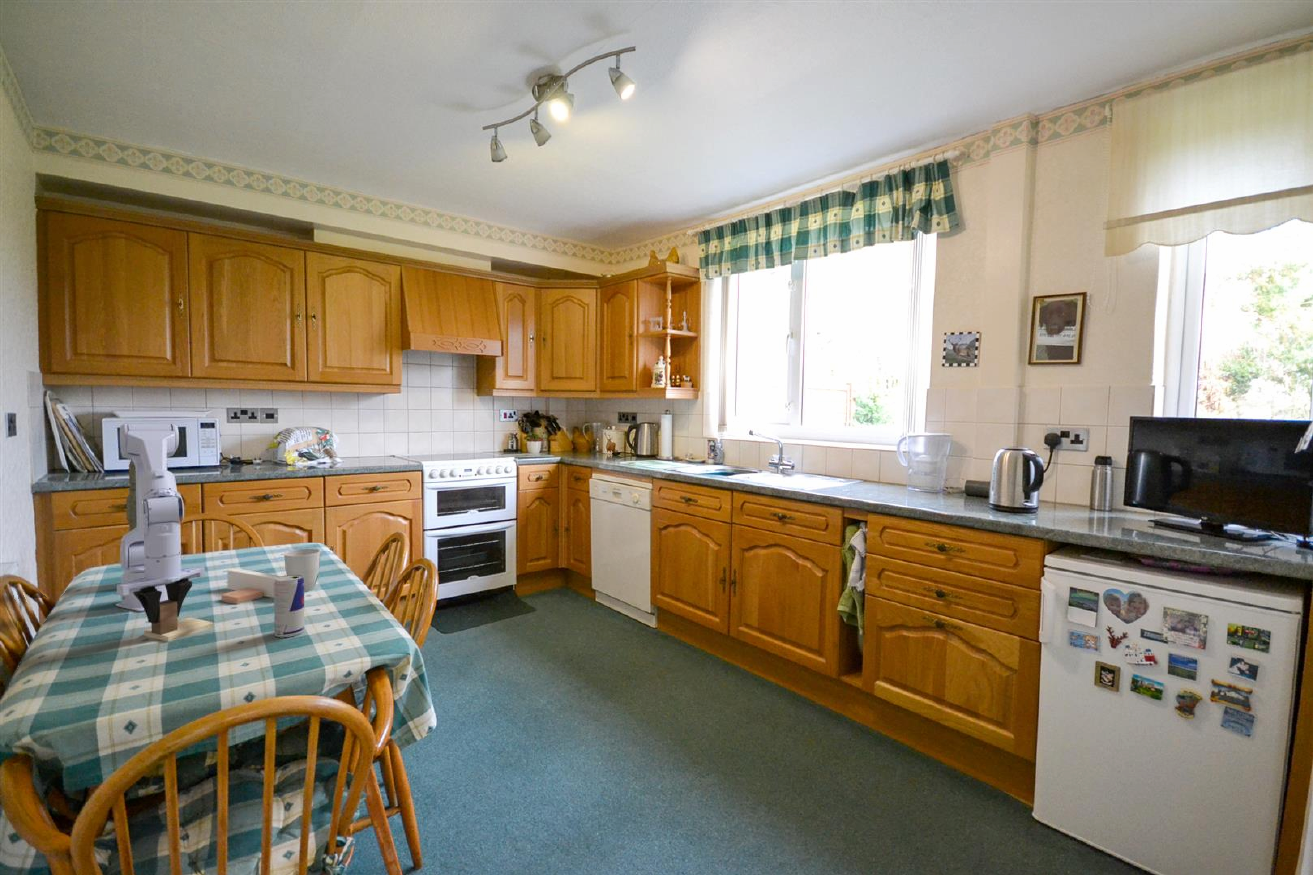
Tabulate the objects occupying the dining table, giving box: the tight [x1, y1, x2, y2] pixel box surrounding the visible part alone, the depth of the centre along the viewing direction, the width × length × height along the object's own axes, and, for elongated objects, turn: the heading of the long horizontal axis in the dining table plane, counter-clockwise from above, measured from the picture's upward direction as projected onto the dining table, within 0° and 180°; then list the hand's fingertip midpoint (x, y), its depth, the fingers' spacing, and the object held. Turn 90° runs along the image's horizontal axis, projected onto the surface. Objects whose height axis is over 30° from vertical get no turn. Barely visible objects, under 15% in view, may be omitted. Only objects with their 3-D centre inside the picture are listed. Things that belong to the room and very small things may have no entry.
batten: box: [226, 568, 281, 599], centre depth 144 cm, size 22×2×5 cm, turn 70°
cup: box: [283, 547, 321, 593], centre depth 148 cm, size 8×8×10 cm
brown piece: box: [143, 600, 215, 642], centre depth 119 cm, size 8×8×7 cm
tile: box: [221, 588, 264, 605], centre depth 140 cm, size 6×6×2 cm
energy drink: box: [273, 574, 305, 639], centre depth 119 cm, size 5×5×12 cm
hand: (163, 619), depth 117 cm, fingers closed on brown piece, 3 cm apart
